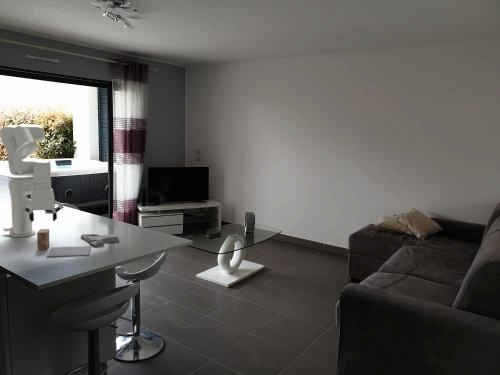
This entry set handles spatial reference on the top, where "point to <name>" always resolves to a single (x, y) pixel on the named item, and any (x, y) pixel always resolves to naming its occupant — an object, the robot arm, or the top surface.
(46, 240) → the wooden block
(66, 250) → the rubber mat
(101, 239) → the pistol
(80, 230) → the top surface
